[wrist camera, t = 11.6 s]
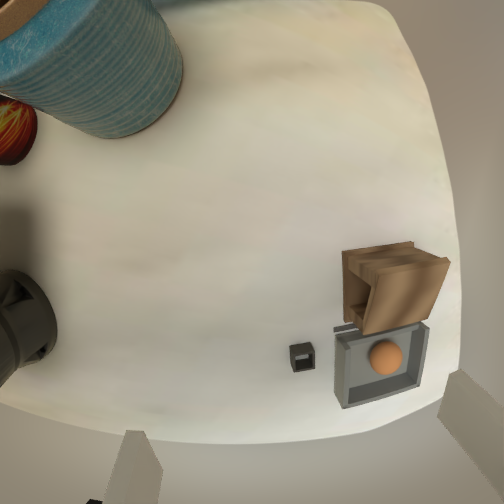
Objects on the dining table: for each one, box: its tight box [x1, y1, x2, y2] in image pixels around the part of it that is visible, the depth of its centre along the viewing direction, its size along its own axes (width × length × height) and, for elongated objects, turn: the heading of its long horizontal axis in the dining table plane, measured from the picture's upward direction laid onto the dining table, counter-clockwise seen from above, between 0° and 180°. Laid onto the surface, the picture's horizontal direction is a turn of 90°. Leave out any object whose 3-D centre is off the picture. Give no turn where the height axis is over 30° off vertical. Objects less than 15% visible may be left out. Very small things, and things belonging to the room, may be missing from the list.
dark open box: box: [289, 342, 315, 372], centre depth 40 cm, size 3×3×2 cm
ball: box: [370, 341, 403, 375], centre depth 39 cm, size 5×5×5 cm
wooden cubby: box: [342, 241, 451, 335], centre depth 35 cm, size 11×10×10 cm
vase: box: [0, 0, 183, 138], centre depth 19 cm, size 16×16×27 cm
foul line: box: [334, 324, 357, 332], centre depth 42 cm, size 14×1×1 cm, turn 97°
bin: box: [334, 321, 430, 409], centre depth 41 cm, size 14×11×4 cm
